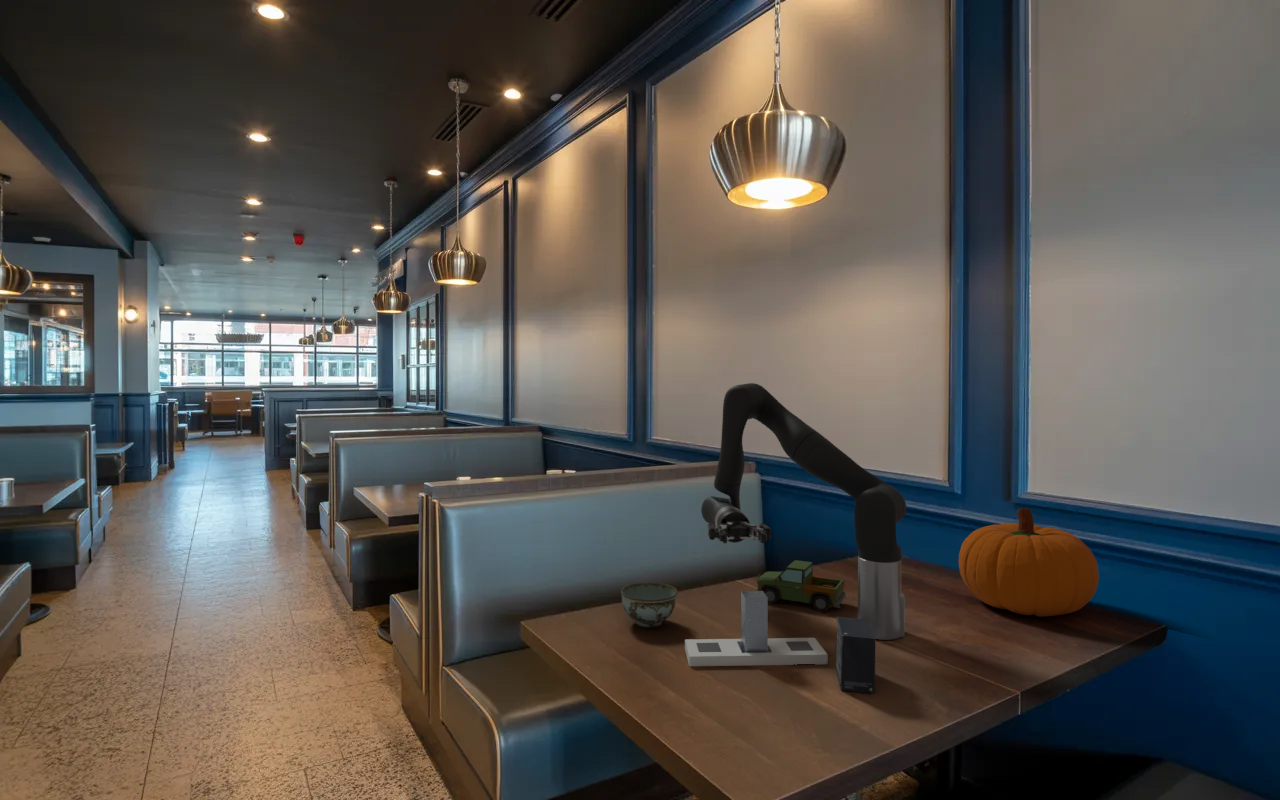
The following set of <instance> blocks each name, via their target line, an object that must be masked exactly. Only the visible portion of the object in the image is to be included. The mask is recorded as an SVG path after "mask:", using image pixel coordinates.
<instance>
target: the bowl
mask: <svg viewBox="0 0 1280 800" xmlns="http://www.w3.org/2000/svg"><path fill="white" fill-rule="evenodd" d="M620 589H621V590H620V593H621V602H622V606H623V609H624V611H625V613H626V614H627V616H628V617H629V618H630V619H632V620H633V621H635V624H636V626H638V627H640V628H643V629H655V628H658V627H660V626H661V625H662V624H663V622H664V621H666V620H667V619H668V618H670V616H671V615H672V614H673V611H674V609H675V607H676V601H677V596H678V593H679V590H678V589H677V588H676V587H675V586H673V585H670V584H667V583H661V582H655V581H654V582H651V581H650V582H647V581H646V582H643V581H642V582H636V583H635V582H634V583H630V584H627V585H625V586H623V587H622V588H620Z"/></svg>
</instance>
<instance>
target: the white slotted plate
mask: <svg viewBox="0 0 1280 800" xmlns="http://www.w3.org/2000/svg"><path fill="white" fill-rule="evenodd" d="M684 651H685V655H686V658H687V663H688V666H689V667H720V666H721V667H732V666H733V667H736V666H737V667H740V666H743V667H744V666H795V665H796V666H798V665H797V664H815V665H828V662H829V661H828V658H829V657H828V653H827V652H826V651H825V649H824V648H823V646H822V645H821V644H820V643H819V641H818V640H817V639H816V638H815V637H788V638H787V637H782V638H781V637H778V638H776V637H773V638H768V653H742V652H741V638H708V639H707V638H706V639H705V638H703V639H701V638H700V639H699V638H698V639H697V638H695V639H690V638H689V639H684ZM794 664H795V665H794Z"/></svg>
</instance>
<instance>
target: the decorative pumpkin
mask: <svg viewBox="0 0 1280 800" xmlns="http://www.w3.org/2000/svg"><path fill="white" fill-rule="evenodd" d="M1016 514H1017V519H1018V523H1001V524H991V525H986V526H983V527H980V528H978V529H975V530H974V531H972V532H971V533H970V534H969V535H968V536H967V537H966V538H965V539H964V540H963V542H962V543H961V547H960V550H959V554H958V567H959V574H960V576H961V578H962V579H961V580H962V581H963V583H964V584H965V586H966V587H967V588H968V589H969V591H970V592H971V593H972V594H973V595H974V596H975V597H976V598H977V599H978V600H979V601H981V602H983V603H984V604H986V605H988V606H991V607H993V608H997V609H1001V610H1007V611H1010V612H1012V613H1015V614H1019V615H1024V616H1033V615H1034V616H1036V617H1041V618H1043V617H1044V618H1045V617H1054V616H1063V615H1066V614H1068V615H1069V614H1072V613H1074V612H1077V611H1079V610H1081V609H1082V608H1083V607H1085V606H1086V605H1087V604H1089V602H1090V601H1091V600H1092V599H1093V597H1094V596H1095V594H1096V592H1097V590H1098V589H1097V588H1098V587H1099V581H1100V575H1099V564H1098V561H1097V559H1096V557H1095V555H1094V553H1093V552H1092V550H1091V549H1090V548H1089V546H1087V545H1086V544H1085V543H1084V542H1083V541H1082V540H1081V539H1080V538H1078V537H1077V536H1076V535H1074V534H1072V533H1070V532H1067V531H1065V530H1062V529H1060V528H1054V527H1046V526H1045V527H1043V526H1040V525H1035V523H1034V517H1033V514H1032V509H1031V508H1028V507H1027V508H1026V507H1023V508H1018V509H1017V510H1016Z"/></svg>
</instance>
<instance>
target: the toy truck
mask: <svg viewBox="0 0 1280 800" xmlns="http://www.w3.org/2000/svg"><path fill="white" fill-rule="evenodd" d="M813 565H814V564H813V562H812V561H807V560H806V561H804V560H796V559H795V560H793V561H792V562H790V564H789V565H787V566H786V567H785V568H784V570H783V571H766V572H764V573H763V574H762V575H761V576H759V578H758V579H757V582H756V583H757V588H756V589H755V591H763V592H764V593H765V595H766V596H767V598H768V604H770V603H773V604H776V603H777V602H779V600H784V601H785V600H786V601H793V602H798V603H805V604H808V605H812V606H813V608H814V609H815V610H816V611H817V612H821V611H822V613H823V612H824V613H825V612H827V611H828V610H829V608H837V609H841V604H842V602H843V601H844V599H845V598H846V596H847V595H846V594H847V593H846V592H845V591H844V589H845V581H844V579H838V578H837V579H836V578H830V577H824V576H823V577H822V576H815V575H814V572H813V568H814V567H813Z"/></svg>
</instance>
